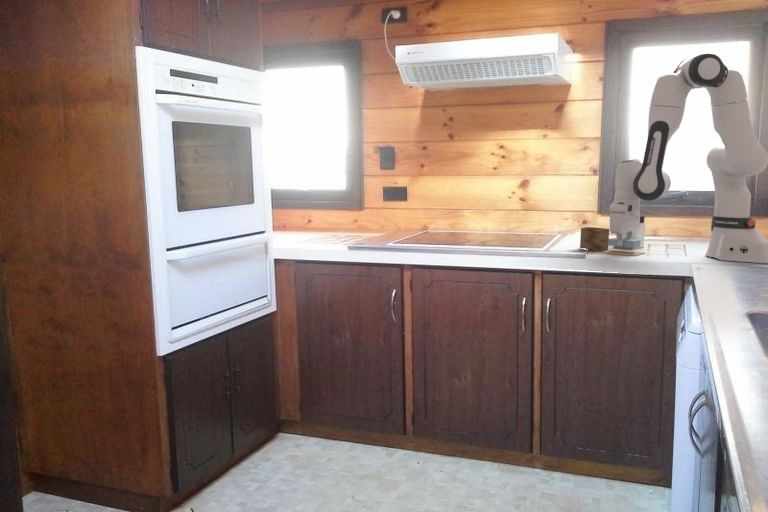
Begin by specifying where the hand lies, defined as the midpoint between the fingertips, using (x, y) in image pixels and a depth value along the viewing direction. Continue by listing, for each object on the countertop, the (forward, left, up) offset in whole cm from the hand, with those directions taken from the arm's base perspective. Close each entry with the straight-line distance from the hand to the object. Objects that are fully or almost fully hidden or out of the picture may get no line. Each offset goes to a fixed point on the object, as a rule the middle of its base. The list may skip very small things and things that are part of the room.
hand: (624, 244), depth 252 cm
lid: (0, 0, -2) cm, 2 cm away
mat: (0, 0, -3) cm, 3 cm away
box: (+11, 0, -3) cm, 12 cm away
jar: (+4, -19, -3) cm, 20 cm away
